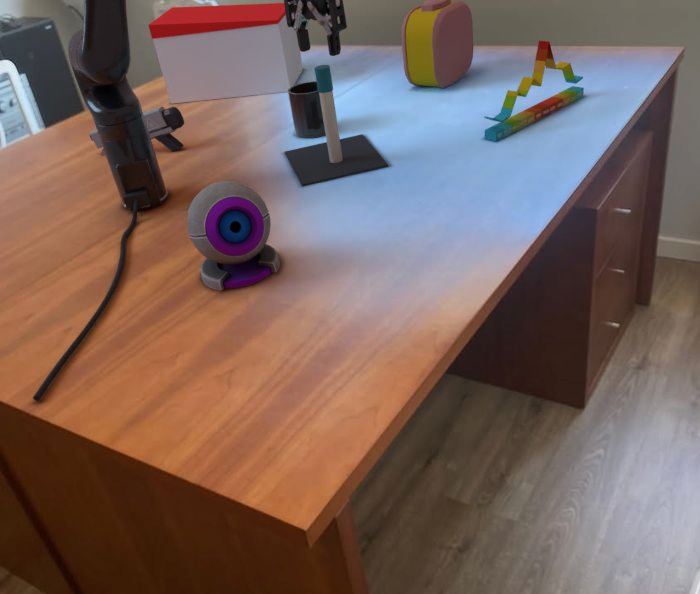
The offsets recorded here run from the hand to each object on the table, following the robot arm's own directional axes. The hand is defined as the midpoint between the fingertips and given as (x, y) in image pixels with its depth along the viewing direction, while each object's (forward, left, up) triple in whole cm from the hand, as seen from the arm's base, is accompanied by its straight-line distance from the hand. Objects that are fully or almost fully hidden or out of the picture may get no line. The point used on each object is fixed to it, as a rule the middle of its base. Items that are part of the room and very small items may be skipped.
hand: (320, 52), depth 138 cm
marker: (0, 0, -22) cm, 22 cm away
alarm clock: (+38, -37, -22) cm, 58 cm away
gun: (+34, +40, -22) cm, 57 cm away
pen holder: (+22, 0, -22) cm, 31 cm away
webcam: (-36, +25, -22) cm, 49 cm away
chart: (0, -45, -22) cm, 50 cm away
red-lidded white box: (+73, +12, -22) cm, 77 cm away
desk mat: (+2, 0, -22) cm, 22 cm away
